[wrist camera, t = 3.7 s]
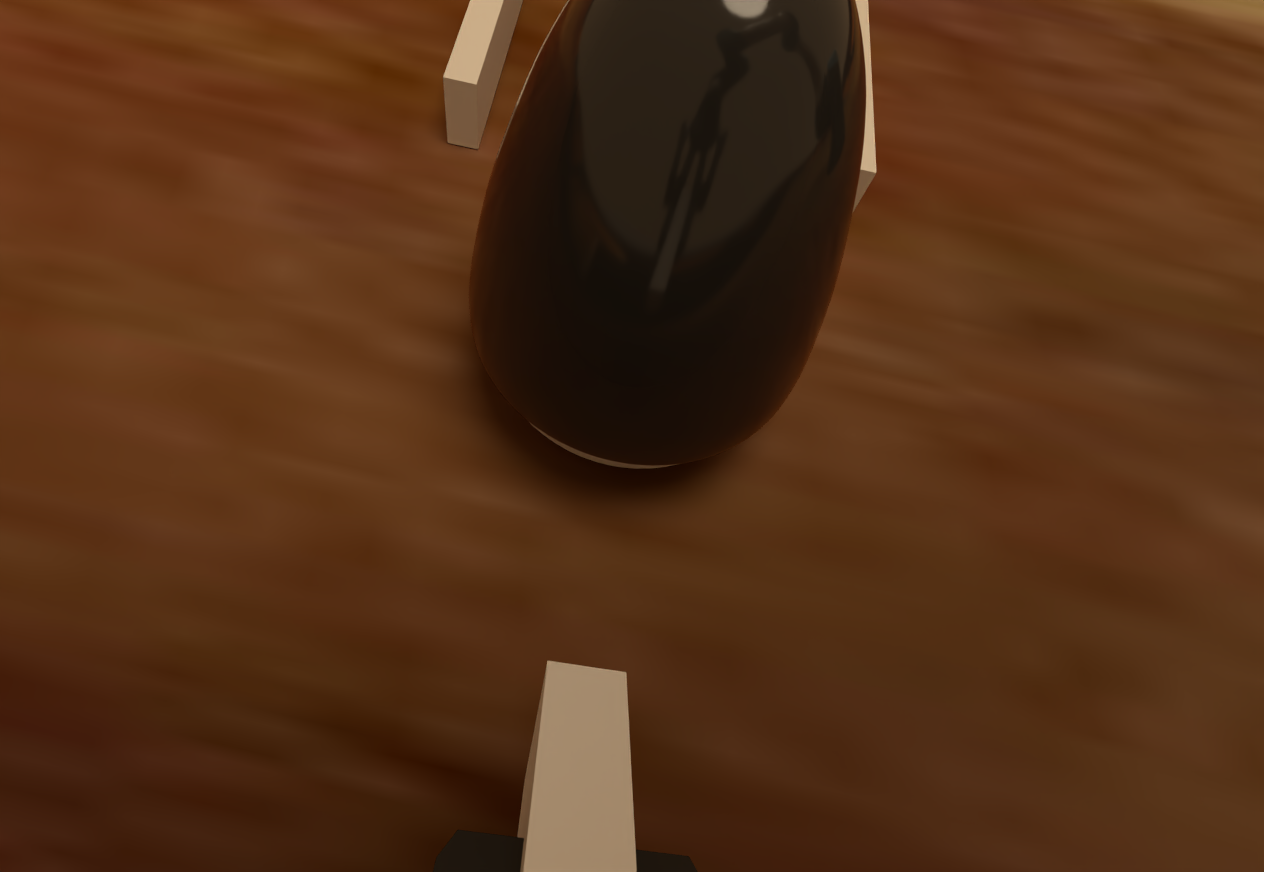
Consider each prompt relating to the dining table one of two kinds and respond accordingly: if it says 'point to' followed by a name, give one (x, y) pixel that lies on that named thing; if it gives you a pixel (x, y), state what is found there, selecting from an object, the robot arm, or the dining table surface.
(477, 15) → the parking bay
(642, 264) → the black tall rounded piece
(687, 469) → the dining table surface
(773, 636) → the dining table surface
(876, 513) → the dining table surface
